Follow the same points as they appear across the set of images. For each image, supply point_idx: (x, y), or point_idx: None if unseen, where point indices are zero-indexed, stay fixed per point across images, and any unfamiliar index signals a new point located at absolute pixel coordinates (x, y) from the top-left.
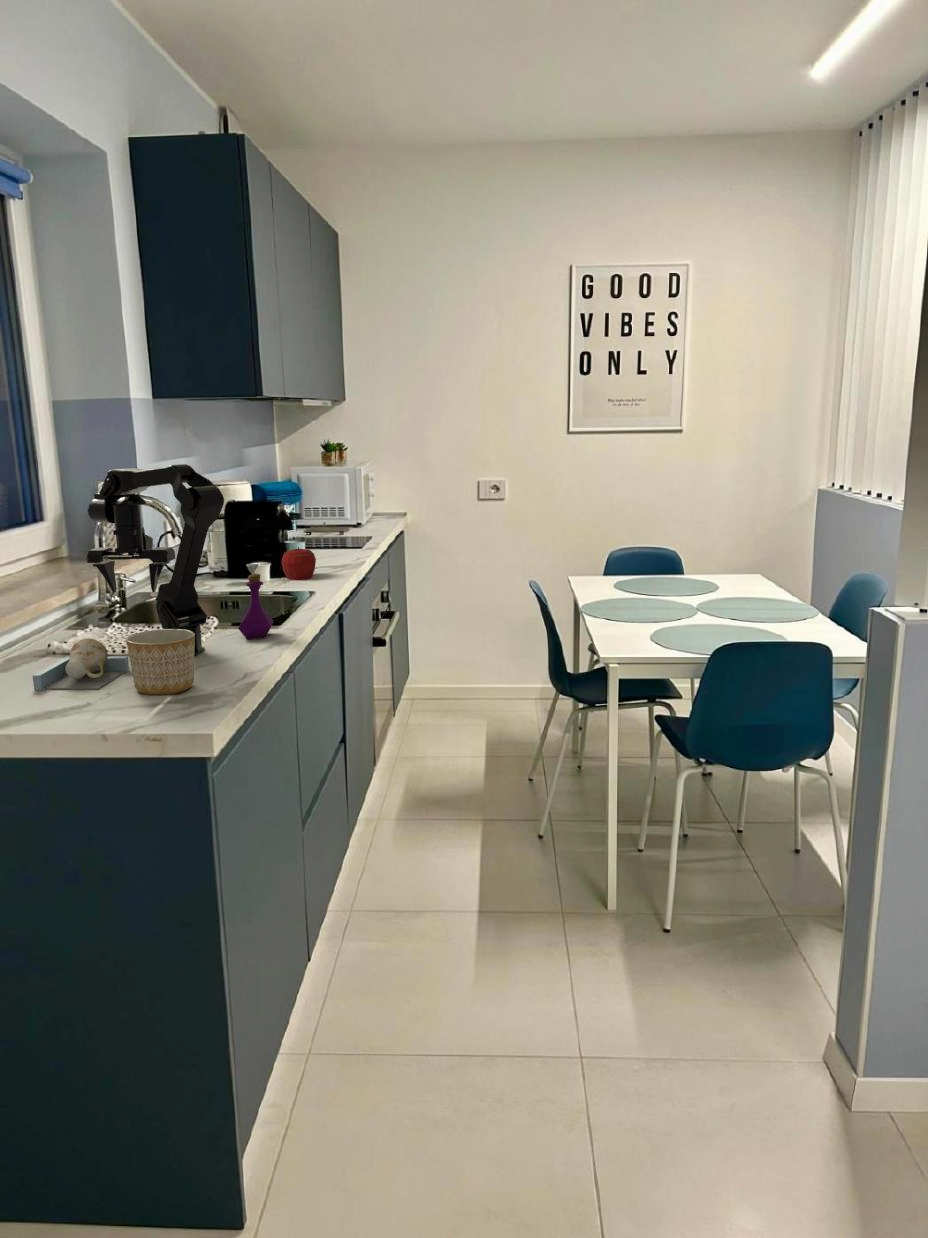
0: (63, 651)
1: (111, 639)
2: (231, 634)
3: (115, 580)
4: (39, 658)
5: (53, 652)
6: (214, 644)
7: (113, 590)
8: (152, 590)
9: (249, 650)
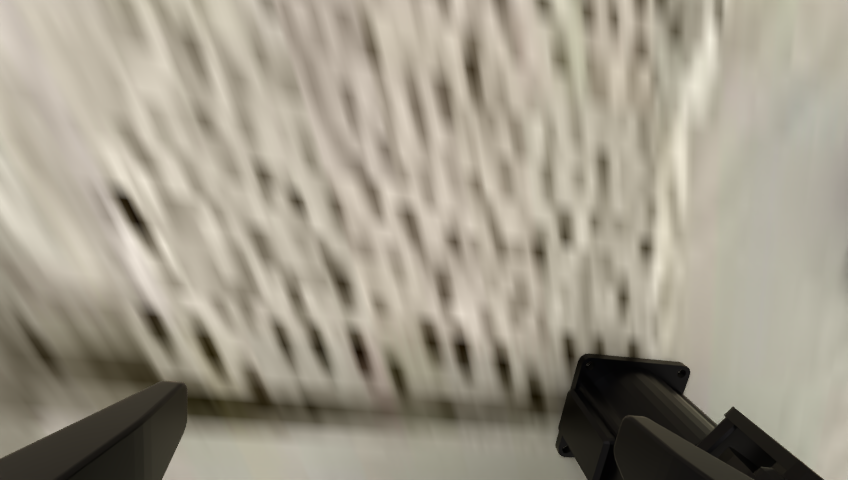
0: (71, 326)
1: (211, 99)
2: (808, 84)
3: (78, 472)
4: (26, 432)
5: (29, 340)
6: (721, 276)
7: (166, 457)
8: (628, 478)
9: (834, 381)
